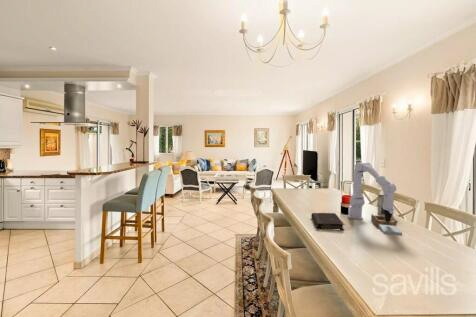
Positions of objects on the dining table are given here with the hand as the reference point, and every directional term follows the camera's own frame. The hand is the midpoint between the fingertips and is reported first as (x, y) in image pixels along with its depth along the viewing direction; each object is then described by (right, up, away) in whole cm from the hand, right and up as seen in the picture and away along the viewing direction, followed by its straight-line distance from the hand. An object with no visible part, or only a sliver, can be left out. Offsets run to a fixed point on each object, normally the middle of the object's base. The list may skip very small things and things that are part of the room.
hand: (387, 221), depth 164 cm
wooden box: (+2, -5, +9) cm, 10 cm away
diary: (-38, -5, +10) cm, 39 cm away
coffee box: (+18, -4, +32) cm, 37 cm away
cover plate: (-1, -5, -5) cm, 7 cm away
